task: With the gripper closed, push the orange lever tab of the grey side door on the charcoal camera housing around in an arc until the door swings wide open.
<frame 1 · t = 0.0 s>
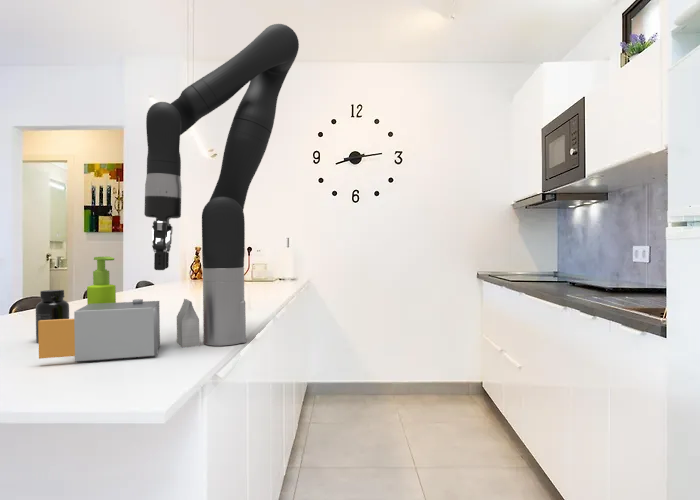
hand: (161, 269, 105), 17 cm above the countertop, tool pointing down, fingers open, 8 cm apart
camera housing: (121, 352, 99), on the countertop
supplement bottle: (53, 341, 113), on the countertop
soap dispenser: (103, 342, 111), on the countertop
side door: (100, 334, 92), point 5 cm above the countertop, hinge at 0.0°
grey gable top carton: (188, 344, 108), on the countertop
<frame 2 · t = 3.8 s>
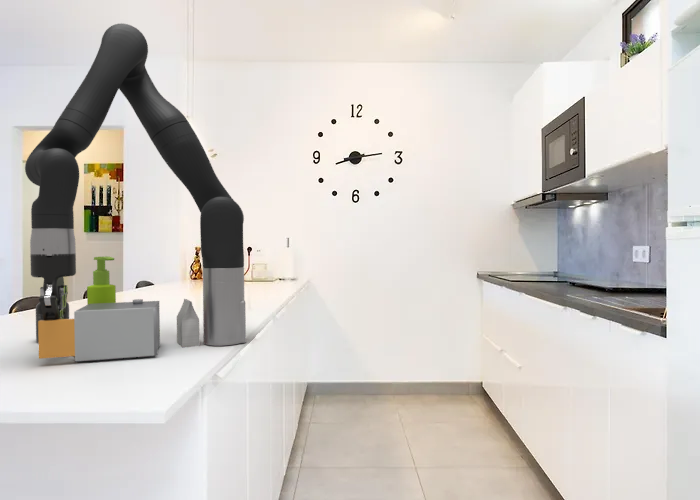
hand: (55, 340, 93), 4 cm above the countertop, tool pointing down, fingers closed
side door: (100, 334, 92), point 5 cm above the countertop, hinge at 0.1°, touching gripper, hand
everything else where it was.
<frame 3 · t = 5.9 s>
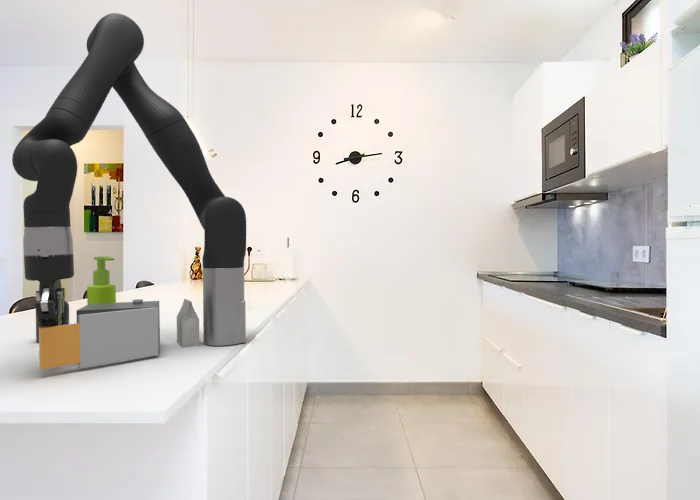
hand: (53, 347, 86), 4 cm above the countertop, tool pointing down, fingers closed
side door: (104, 338, 88), point 5 cm above the countertop, hinge at 27.4°, touching hand
everything else where it was.
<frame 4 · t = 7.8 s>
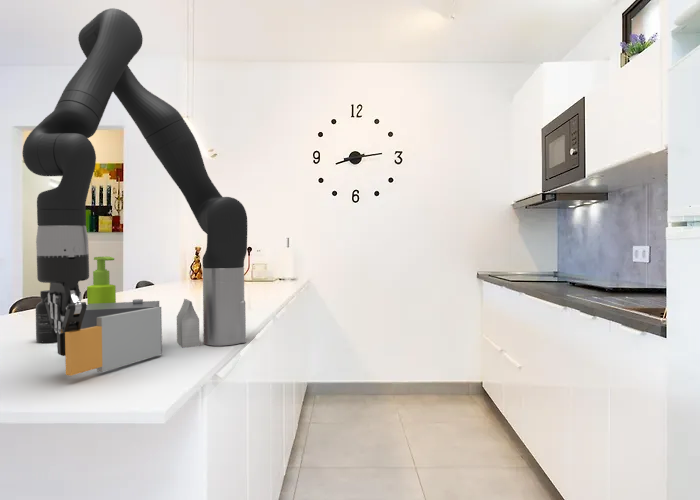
hand: (66, 354, 80), 4 cm above the countertop, tool pointing down, fingers closed
side door: (119, 340, 86), point 5 cm above the countertop, hinge at 52.2°, touching hand
everything else where it was.
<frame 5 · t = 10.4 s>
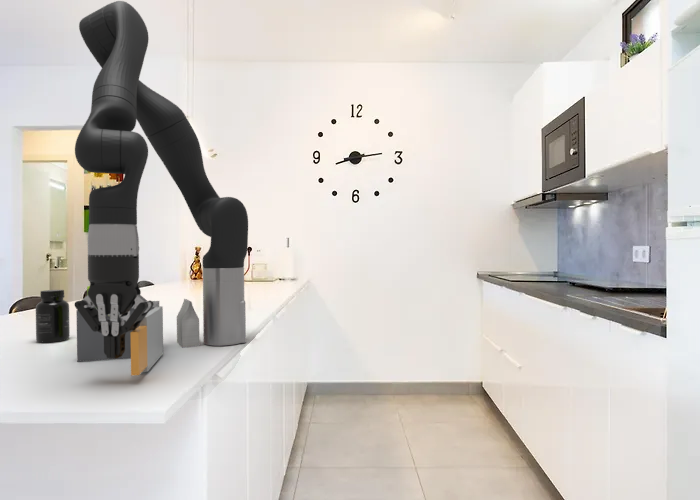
hand: (114, 357, 78), 4 cm above the countertop, tool pointing down, fingers closed
side door: (149, 339, 86), point 5 cm above the countertop, hinge at 84.1°, touching gripper, hand
everything else where it was.
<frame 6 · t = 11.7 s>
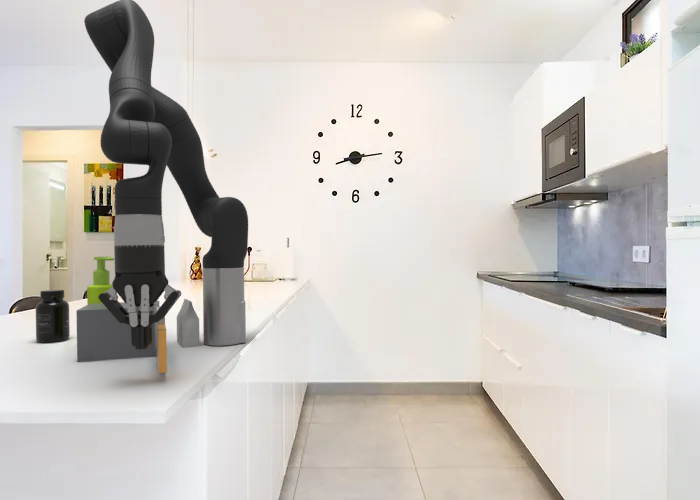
hand: (142, 348, 78), 6 cm above the countertop, tool pointing down, fingers closed
side door: (161, 338, 87), point 5 cm above the countertop, hinge at 96.1°
everything else where it was.
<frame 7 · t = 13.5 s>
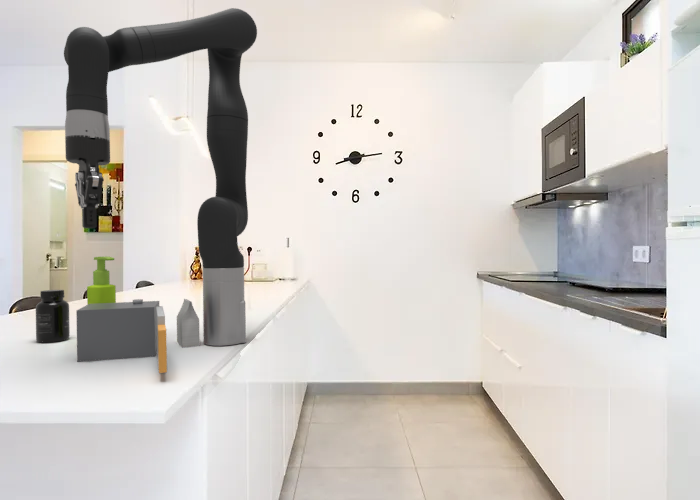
hand: (89, 227, 91), 26 cm above the countertop, tool pointing down, fingers closed
nothing on the countertop moved.
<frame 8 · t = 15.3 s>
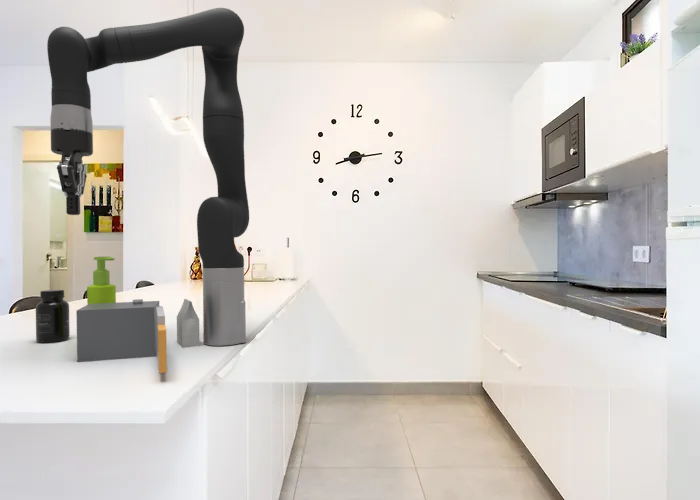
hand: (73, 214, 98), 29 cm above the countertop, tool pointing down, fingers closed
nothing on the countertop moved.
at the end: side door at +96° (first picture: +0°) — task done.
